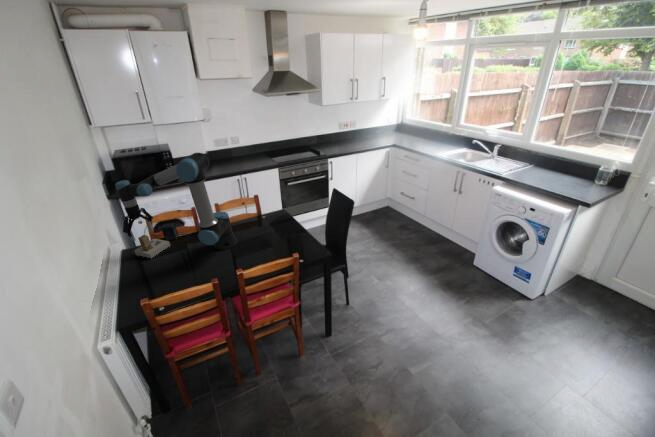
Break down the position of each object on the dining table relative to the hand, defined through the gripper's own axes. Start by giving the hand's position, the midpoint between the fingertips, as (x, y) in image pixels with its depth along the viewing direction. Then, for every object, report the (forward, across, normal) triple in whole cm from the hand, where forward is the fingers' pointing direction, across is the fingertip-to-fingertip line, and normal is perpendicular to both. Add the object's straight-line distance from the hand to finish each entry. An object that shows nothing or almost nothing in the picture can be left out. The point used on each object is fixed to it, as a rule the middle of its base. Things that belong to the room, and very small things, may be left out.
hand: (142, 235), depth 206 cm
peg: (+13, 0, -1) cm, 13 cm away
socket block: (+14, -3, -1) cm, 15 cm away
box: (+15, -20, -2) cm, 25 cm away
